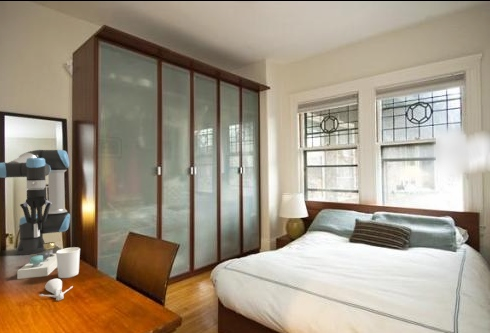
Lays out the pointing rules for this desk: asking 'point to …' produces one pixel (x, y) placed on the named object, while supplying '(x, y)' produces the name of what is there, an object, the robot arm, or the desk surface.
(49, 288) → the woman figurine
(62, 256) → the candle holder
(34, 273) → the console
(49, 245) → the knob
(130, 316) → the desk surface
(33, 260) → the knob
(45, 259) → the knob mid
